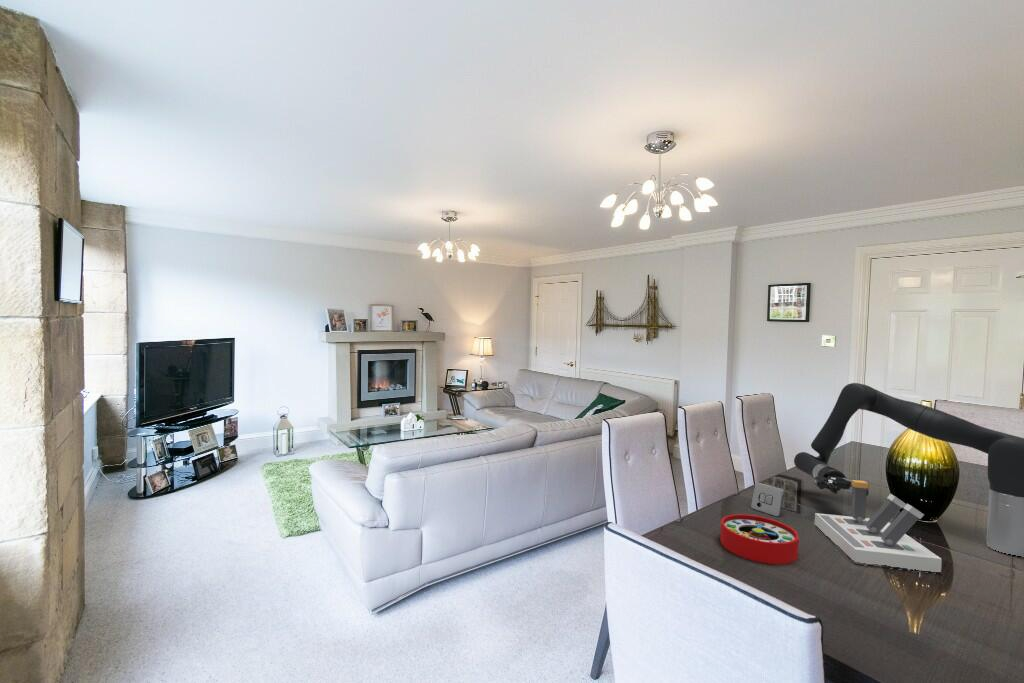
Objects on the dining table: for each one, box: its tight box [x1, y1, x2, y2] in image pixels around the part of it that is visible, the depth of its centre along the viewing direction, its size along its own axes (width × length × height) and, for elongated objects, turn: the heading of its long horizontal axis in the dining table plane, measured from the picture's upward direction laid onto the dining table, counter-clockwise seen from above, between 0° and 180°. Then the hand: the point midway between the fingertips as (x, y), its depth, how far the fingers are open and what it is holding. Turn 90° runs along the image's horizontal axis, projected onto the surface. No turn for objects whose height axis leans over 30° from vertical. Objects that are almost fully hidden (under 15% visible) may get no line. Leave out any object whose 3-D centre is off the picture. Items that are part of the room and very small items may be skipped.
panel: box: [814, 512, 942, 573], centre depth 138 cm, size 20×26×4 cm
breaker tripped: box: [850, 479, 869, 522], centre depth 146 cm, size 3×3×12 cm
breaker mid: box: [866, 493, 907, 533], centre depth 137 cm, size 3×3×12 cm
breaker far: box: [880, 503, 925, 545], centre depth 129 cm, size 3×3×12 cm
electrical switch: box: [750, 482, 785, 517], centre depth 164 cm, size 9×5×9 cm, turn 35°
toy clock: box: [719, 513, 800, 565], centre depth 136 cm, size 20×6×20 cm
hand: (851, 492), depth 150 cm, fingers open, 8 cm apart
